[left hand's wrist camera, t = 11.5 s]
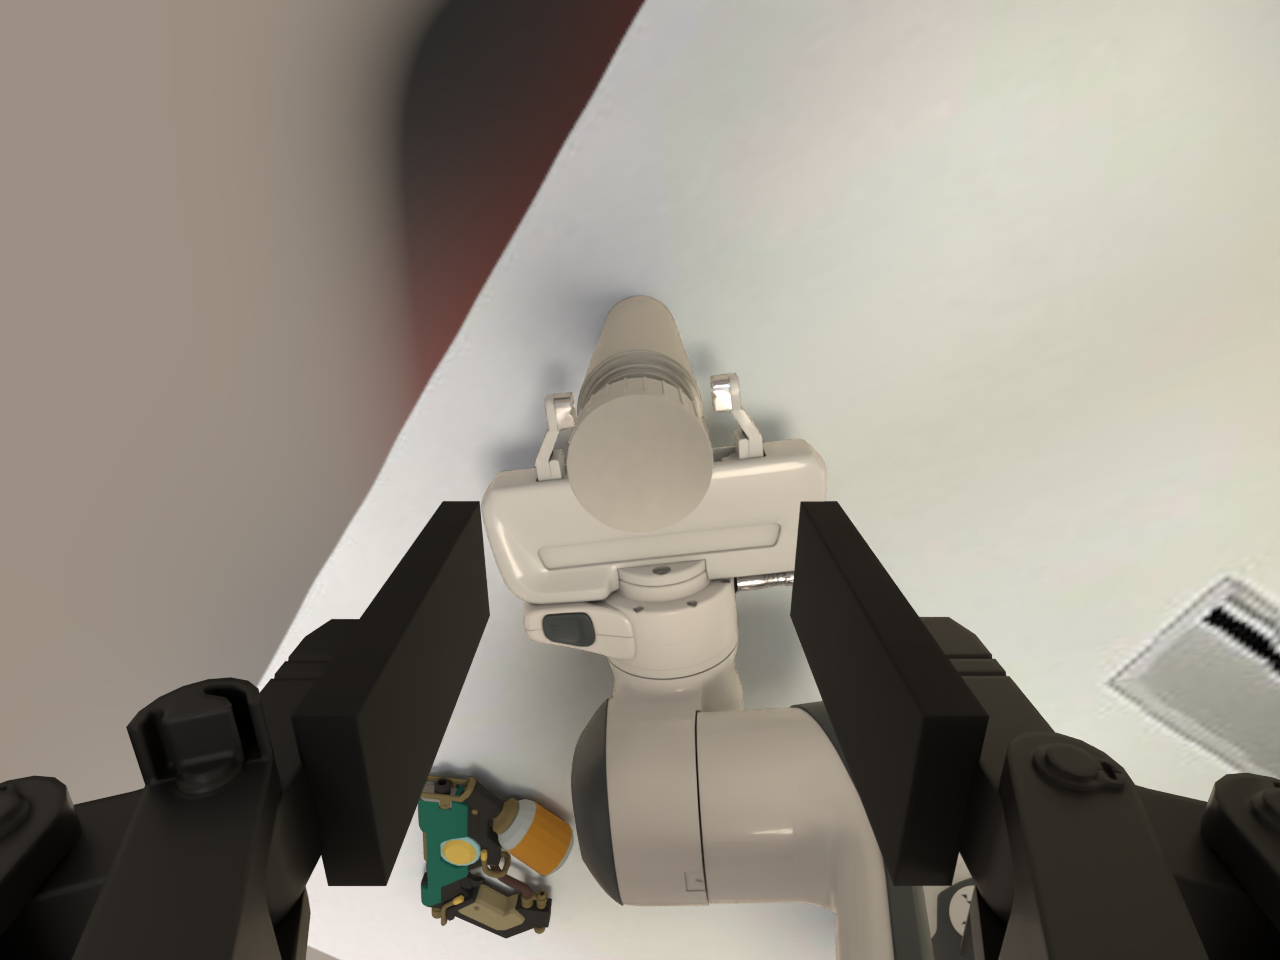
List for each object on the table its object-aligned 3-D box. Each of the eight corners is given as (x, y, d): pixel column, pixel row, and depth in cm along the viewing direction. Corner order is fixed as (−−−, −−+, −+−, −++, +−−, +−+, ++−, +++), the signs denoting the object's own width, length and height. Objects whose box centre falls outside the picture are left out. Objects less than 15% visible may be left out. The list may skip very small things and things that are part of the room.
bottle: (615, 377, 45) (587, 550, 21) (594, 307, 44) (539, 408, 20) (684, 358, 45) (735, 512, 21) (665, 286, 43) (697, 364, 19)
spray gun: (541, 921, 64) (387, 873, 63) (602, 804, 58) (433, 746, 56) (531, 969, 60) (367, 918, 59) (597, 848, 54) (414, 788, 52)
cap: (594, 519, 23) (590, 550, 21) (553, 396, 22) (544, 415, 19) (721, 486, 23) (730, 514, 21) (688, 358, 21) (694, 374, 19)
